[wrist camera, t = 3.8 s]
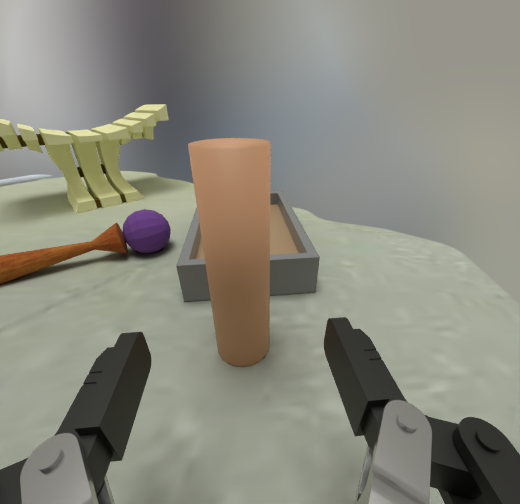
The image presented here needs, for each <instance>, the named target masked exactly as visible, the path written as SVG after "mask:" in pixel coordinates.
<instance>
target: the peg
mask: <svg viewBox="0 0 520 504" xmlns="http://www.w3.org/2000/svg"><path fill="white" fill-rule="evenodd" d="M188 147H189V155H190V161H191V168H192V175H193V181H194V189H195V196H196V202H197V209H198V216H199V223H200V230H201V237H202V243H203V250H204V257H205V264H206V271H207V277H208V284H209V291H210V298H211V305H212V312H213V318H214V325H215V332H216V339H217V346H218V352H219V354H220V356H221V357H222V359H223V360H224V361H226V362H227V363H229V364H231V365H234V366H240V367H245V366H250V365H253V364H255V363H257V362H259V361H260V360H262V359H263V358H264V356H265V355H266V354H267V352H268V349H269V304H270V178H271V174H270V173H271V142H270V141H267V140H262V139H252V138H223V139H209V140H201V141H196V142H192V143H190V144H188Z"/></svg>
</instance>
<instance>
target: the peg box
mask: <svg viewBox="0 0 520 504" xmlns="http://www.w3.org/2000/svg"><path fill="white" fill-rule="evenodd" d="M319 258H320V257H319V255H318V253H317V252H316V250H315V248H314V246H313V244H312V243H311V241H310V239H309V237H308V236H307V234H306V232H305V230H304V228H303V227H302V225H301V223H300V221H299V220H298V218H297V216H296V214H295V212H294V211H293V209H292V207H291V205H290V203H289V202H288V200H287V198H286V196H285V195H284V193H283V191H276V192H275V191H274V192H270V295H284V294H299V293H313V292H315V290H316V282H317V274H318V266H319ZM177 270H178V275H179V280H180V284H181V289H182V293H183V298H184V302H186V301H200V300H211V298H210V291H209V284H208V277H207V271H206V264H205V257H204V250H203V243H202V237H201V230H200V223H199V216H198V209H197V208H196V211H195V214H194V217H193V220H192V223H191V225H190V228H189V231H188V234H187V237H186V240H185V243H184V246H183V249H182V251H181V254H180V257H179V260H178V263H177Z"/></svg>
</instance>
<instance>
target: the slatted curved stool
mask: <svg viewBox="0 0 520 504" xmlns="http://www.w3.org/2000/svg"><path fill="white" fill-rule="evenodd" d="M160 120H169V119H168V114H167V107H166V105H165V104H163V105H143V106H141V107H139V108H138V109H136V110H135V113H134V112H132V113H130V114H128V115H126V116H124V119H119V120H117V121H114V122H113V123H112V124H113V125H111V124H108V125H105V126H101V127H97V128H92V129H91V131H89V130H77V131H67V132H63V131H60V130H48V129H42V128H38V129H39V132H40V134H36V133H35V131H34V130H33V128H32V127H31V126H27V125H22V124H18V129H19V132H20V134H21V135H18V136H17V135H16V132H15V130H14V128H13V126H12V124H11V122H10V121H7V120H4V119H0V136H1V137H0V152H1V151H3V150H4V148H9V150H13V149H22V147H25V146H27V147H28V149H29V150H34V151H38V152H41V153H43V152H42V150H41V147H40V145H45V147H46V149H47V151H48V154H49V156H50V158H51V159H52V160H53V161H54V163H55V164H56V165H57V166H58V167H59V168H60V170H61V171H62V172H63V174H64V176H65V178H66V181H67V187H68V191H67V198H68V200H69V202H70V204H71V206H72V208H73V209H74V211H75V213H81V212H85V211H90V210H95V209H97V207H103V208H104V207H109V206H113V205H118V204H122V202H125V201H126V202H132V201H136V200H141V199H145V198H144V197H143V196H142V195H141V194H140V193H139V192H138V191H137V190H136V189H135V188H133V187H132V186H131V185H130V184H128V183H127V182H126V181H125V179H124V178H123V177H122V175H121V173H120V170H119V154H120V150H119V144H120V145H124V144H125V143H127V142H128V141H130V140H131V138H132V139H139V138H147V139H153V140H154V138H153V126H156V122H157V121H160ZM70 143H71V145H72V147H73V150H74V153H75V156H76V159H77V161H78V164H79V167H76V165H75V162H74V159H73V156H72V153H71V150H70V145H69V144H70ZM96 147H97V150H98V154H99V157H100V159H101V163H102V164H100V161H99V158H98V155H97V150H96ZM104 174H105V175H106V177H105V175H104ZM81 177H83V178H84V180H85V183H86V185H87V187H88V189H89V191H90V193H91V194H92V196H93V197H94V198H95V199H93V197H92V196H91V195H90V194H89V192H88V191H87V189H86V187H85V186H84V184H83V182H82V180H81ZM106 178H107V179H106ZM107 180H108V181H107Z"/></svg>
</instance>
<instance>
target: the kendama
mask: <svg viewBox="0 0 520 504" xmlns="http://www.w3.org/2000/svg"><path fill="white" fill-rule="evenodd" d="M169 238H170V226H169V223H168V221H167V220H166V219H165V218H164V217H163V215H161V214H159V213H157V212H156V211H152V210H145V209H144V210H140V211H136V212H134V213H133V214H131V215H130V216H128V217H127V219H126V221H125V222H124V224H123V232H122V231H121V229H120V227H119V225H118V224H117V223H115V224H114V225H113V226H111V227H110V228H109V229H107V230H106V231H105V232H103V233H102V234H101V235H99V236H98V237H97V238H95V239H94V240H93V241H91V242H85V243H79V244H72V245H66V246H59V247H53V248H47V249H40V250H34V251H27V252H21V253H14V254H8V255H1V256H0V284H2V283H5V282H8V281H10V280H13V279H16V278H19V277H21V276H24V275H27V274H29V273H32V272H35V271H37V270H40V269H43V268H46V267H48V266H51V265H54V264H56V263H59V262H62V261H65V260H67V259H70V258H73V257H75V256H78V255H81V254H84V253H86V252H89V251H92V250H103V251H113V252H122V253H128V249H127V244H128V245H129V246H130V247H131V248H132V249H134V250H136V251H138V252H140V253H152V252H156V251H159V250H160V249H161V248H163V247H164V246H165V245H166V244H167V242H168V240H169ZM126 243H127V244H126Z"/></svg>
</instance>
